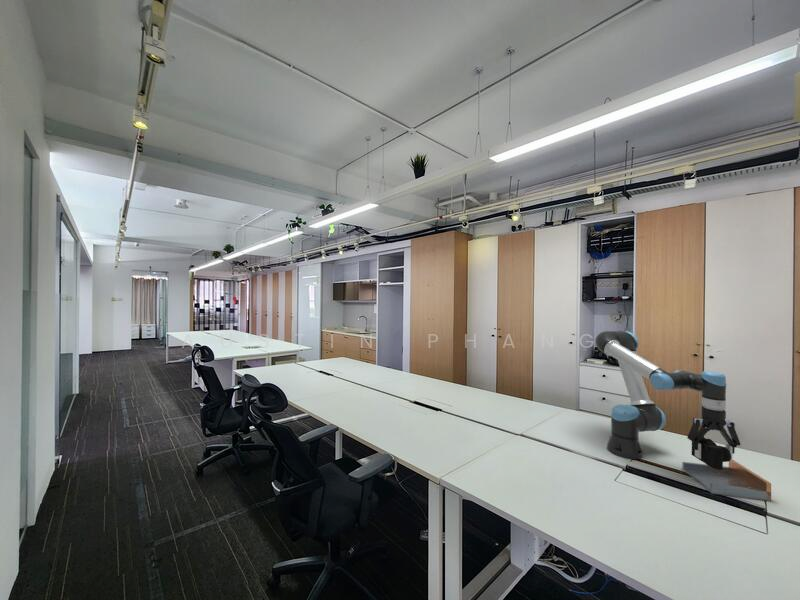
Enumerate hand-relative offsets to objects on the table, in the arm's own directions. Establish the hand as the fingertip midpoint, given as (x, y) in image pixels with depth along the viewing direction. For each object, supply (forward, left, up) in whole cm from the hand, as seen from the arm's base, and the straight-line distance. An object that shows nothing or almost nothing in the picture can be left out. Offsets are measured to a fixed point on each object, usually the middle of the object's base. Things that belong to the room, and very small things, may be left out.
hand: (713, 458), depth 139 cm
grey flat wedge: (+3, 0, -10) cm, 11 cm away
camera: (0, -1, -1) cm, 2 cm away
